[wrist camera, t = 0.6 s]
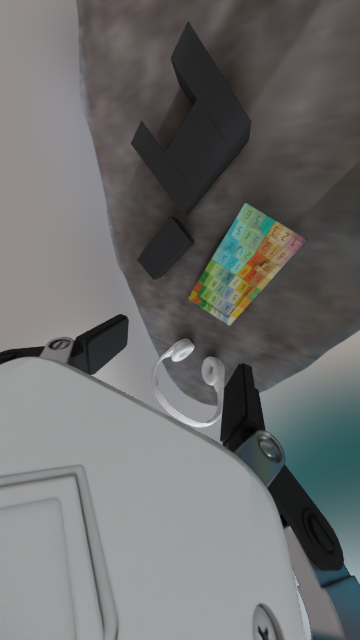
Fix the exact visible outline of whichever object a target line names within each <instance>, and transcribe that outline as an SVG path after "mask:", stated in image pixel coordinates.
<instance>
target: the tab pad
mask: <svg viewBox="0 0 360 640" xmlns="http://www.w3.org/2000/svg"><path fill="white" fill-rule="evenodd" d="M193 243H194V240H193V239H192V238H191V236H190V235H189V234H188V233H187V231H186V230H185V229H184V227H183V226H182V225H181V223H180V222H179V221H178V219H176V218H174V217H172V216H170V217H169V218H168V220H167V221H166V222H165V224H164V225H163V226H162V228H161V229H160V230H159V232H158V233H157V234H156V236H155V237H154V238H153V239H152V241H151V242H150V243H149V245H148V246H147V247H146V249H145V250H144V251H143V253H142V254H141V255H140V257H139V258H138V259H137V260H138V261H139V263H140V264H141V265H142V266H143V267H144V269H145V270H146V271H147V272H148V273H149V275H150V276H151V277H152V278H153V279H157V278H160V277H162V275H163V274H164V273H165V272H166V271H167V270H168V269H169V268H170V267H171V266H172V265H173V264H174V263H175V262H176V261H177V260H178V259H179V258H180V257H181V256H182V255H183V254H184V253H185V252H186V250H187V249H188V248H189V247H190V246H191V245H192V244H193Z"/></svg>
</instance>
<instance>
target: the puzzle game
mask: <svg viewBox="0 0 360 640" xmlns="http://www.w3.org/2000/svg"><path fill="white" fill-rule="evenodd" d="M306 240H307V239H306V238H304V237H303V236H301V235H299V234H298V233H296V232H294V231H293V230H291V229H289V228H288V227H286V226H284V225H283V224H281V223H279V222H278V221H276V220H274V219H273V218H271V217H269V216H268V215H266V214H264V213H263V212H261V211H259V210H258V209H256V208H254V207H253V206H251V205H249V204H248V203H246V202H245V204H244V205H243V207H242V209H241V210H240V212H239V214H238V215H237V217H236V219H235V220H234V222H233V224H232V225H231V227H230V229H229V230H228V232H227V234H226V235H225V237H224V239H223V240H222V242H221V244H220V245H219V247H218V249H217V250H216V252H215V254H214V255H213V257H212V259H211V260H210V262H209V264H208V265H207V267H206V269H205V270H204V272H203V274H202V275H201V277H200V279H199V280H198V282H197V284H196V285H195V287H194V289H193V290H192V292H191V294H190V295H189V297H188V299H189V300H190V301H192V302H193V303H195V304H196V305H198V306H199V307H201V308H202V309H204V310H205V311H207V312H209V313H210V314H212V315H213V316H215V317H216V318H218V319H219V320H221V321H222V322H224V323H225V324H227V325H228V326H230V325H231V324H232V323H233V322H234V320H235V319H236V318H237V317H238V316H239V315H240V314H241V313H242V311H243V310H244V309H245V308H246V307H247V306H248V305H249V304H250V303H251V301H252V300H253V299H254V298H255V297H256V296H257V295H258V294H259V293H260V291H261V290H262V289H263V288H264V287H265V286H266V285H267V284H268V282H269V281H270V280H271V279H272V278H273V277H274V276H275V275H276V274H277V272H278V271H279V270H280V269H281V268H282V267H283V266H284V265H285V264H286V262H287V261H288V260H289V259H290V258H291V257H292V256H293V255H294V253H295V252H296V251H297V250H298V249H299V248H300V247H301V246H302V245H303V243H304V242H305V241H306Z"/></svg>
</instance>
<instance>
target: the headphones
mask: <svg viewBox="0 0 360 640" xmlns="http://www.w3.org/2000/svg"><path fill="white" fill-rule="evenodd" d="M193 350H194V344H193V343H192V342H191V341H190V340H189V339H182V340H180V341H178V342H176V343H175V344H174V345H173V346H172V347H170V348H169V349H168V351H167V352H165V353H164V354H163V355H162V356H161V357H160V358H159V359H158V360H157V362H156V363H155V365H154V367H153V370H152V373H151V384H152V388H153V391H154V394H155V395H156V398H157V399H158V401H159V402H160V404H161V405H162V406H163V407H164V408H165V410H167V411H168V412H169V413H170V414H171V415H172V416H174V417H175V418H176V419H178V420H180V421H181V422H183V423H185V424H187V425H190V426H194V427H205V426H209V425H211V424H213V423H214V422H216V421H217V420H218V419H219V418H220V417H221V415H222V409H223V396H224V389H223V387H224V375H225V370H224V365H223V363H222V361H221V360H220V359H218V358H214V357H211V356H210V357H207V358H206V359H205V360H204V362H203V364H202V377H203V379H204V381H205V382H206V383H207V384H208V385H214V388H215V390H216V391H217V395H218V407H217V412H216V414H215V416H214V417H213V418H212V419H211V420H209V421H207V422H206V423H201V422H196V421H193V420H191V419H189V418H187V417H185V416H183V415H182V414H181V413H179V412H178V411H176V410H175V409H174V408H173V407H171V406H170V404H169V403H168V402H167V401H166V400H165V399H164V397H163V396H162V394H161V393H160V391H159V389H158V381H157V367H158V364H159V363H160V361H161V360H163V359H164V358H165V357H169V356H170V357H171V358H172V360H173V361H175V362H177V361H180V360H182V359H184V358H186V357H187V356H188V355H189V354H190V353H191V352H192V351H193Z"/></svg>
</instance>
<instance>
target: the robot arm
mask: <svg viewBox="0 0 360 640" xmlns="http://www.w3.org/2000/svg"><path fill="white" fill-rule="evenodd" d="M128 321H129V320H128V319H127V317H126V316H124V315H122V314H119V315H117V316H115V317H113V318H111V319H109V320H108V321H106V322H104V323H102V324H100V325H98V326H97V327H95V328H93V329H91V330H89V331H87V332H85V333H83V334H81V335H80V336H78V337H76V340H75V341H73V339H71V338H67V337H60V338H56V339H53V340H51V341H49V342H48V343H47V344H46V346H42V347H31V348H21V349H11V350H6V351H3V352H1V353H0V640H306V639H305V633H304V628H303V622H302V617H301V612H300V605H299V600H298V594H297V589H296V584H295V579H294V574H293V571H294V573H295V576H296V578H297V581H298V583H299V586H297V588H298V590H299V593H300V595H301V598H302V600H303V603H304V605H305V609H306V612H307V615H308V618H309V623H310V629H311V640H360V584H359V583H358V581H357V579H356V577H355V576H354V575H352V576H351V575H350V574H349V572H348V570H347V568H346V567H345V565H344V563H343V562H344V558H343V552H342V549H341V546H340V543H339V540H338V538H337V536H336V534H335V532H334V530H333V529H332V527H331V526H330V524H329V523H328V521H327V520H326V518H325V517H324V516H323V515H322V513H321V512H320V510H319V509H318V508H317V507H316V505H315V504H314V503H313V501H312V500H311V498H310V497H309V496H308V495H307V493H306V492H305V491H304V489H303V488H302V487H301V485H300V484H299V483H298V481H297V480H296V479H295V477H294V476H293V475H292V473H291V472H290V471H289V470H288V468H287V467H286V466H285V453H284V450H283V448H282V447H281V445H280V443H279V442H278V440H277V439H276V438H275V437H274V436H273V435H271V434H270V433H269V432H267V431H265V425H264V419H263V413H262V408H261V402H260V397H259V391H258V390H257V389H255V387H254V380H253V373H252V367H251V366H249V365H246V364H244V363H242V365H241V364H239V365H238V366H237V368H236V370H235V371H234V373H233V375H232V377H231V378H230V380H229V382H228V383H227V385H226V387H225V389H224V396H223V409H222V423H221V436H220V441H221V442H223V445H221V444H219V443H218V442H216V441H214V440H213V439H211V438H209V437H207V436H206V435H204V434H202V433H200V432H198V431H196V430H195V429H193V428H191V427H189V426H187V425H185V424H183V423H182V422H180V421H178V420H176V419H174V418H172V417H170V416H168V415H166V414H164V413H162V412H161V411H159V410H157V409H155V408H153V407H151V406H149V405H147V404H145V403H143V402H141V401H140V400H138V399H136V398H134V397H132V396H130V395H128V394H126V393H124V392H122V391H120V390H118V389H116V388H114V387H113V386H110V385H109V384H107V383H105V382H103V381H101V380H99V379H97V378H95V377H93V376H91V375H93V374H95V373H96V372H97V371H98V370H99V369H101V368H102V367H103V366H104V365H105V364H106V363H107V362H109V361H110V360H111V359H112V358H113V357H114V356H116V355H117V354H118V353H119V352H120V351H121V350H123V349H124V348H125V347H126V345H127V338H128ZM292 568H293V569H292Z"/></svg>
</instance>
